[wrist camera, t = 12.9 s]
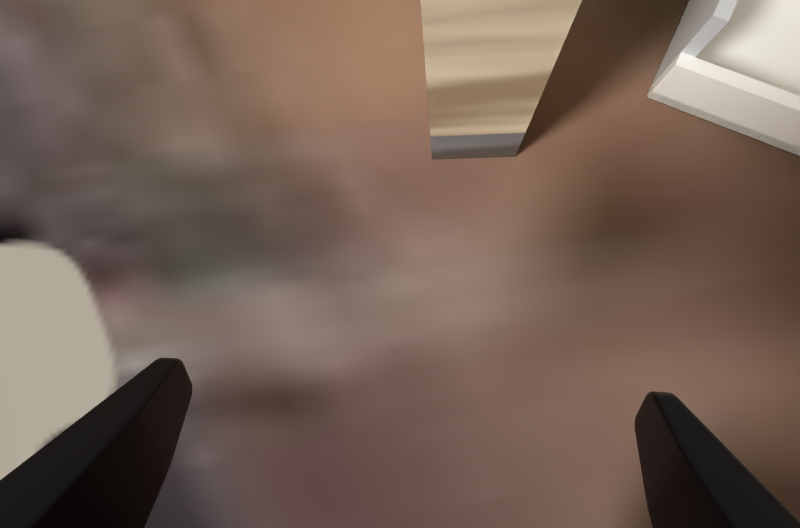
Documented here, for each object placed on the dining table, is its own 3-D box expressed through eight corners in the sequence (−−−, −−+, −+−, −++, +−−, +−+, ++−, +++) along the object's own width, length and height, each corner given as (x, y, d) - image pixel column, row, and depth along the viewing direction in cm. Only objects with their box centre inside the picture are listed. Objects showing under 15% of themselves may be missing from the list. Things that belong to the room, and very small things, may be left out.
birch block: (515, 156, 24) (598, -38, 11) (432, 159, 24) (418, -26, 11) (512, 77, 24) (588, -196, 12) (430, 81, 25) (416, -180, 12)
